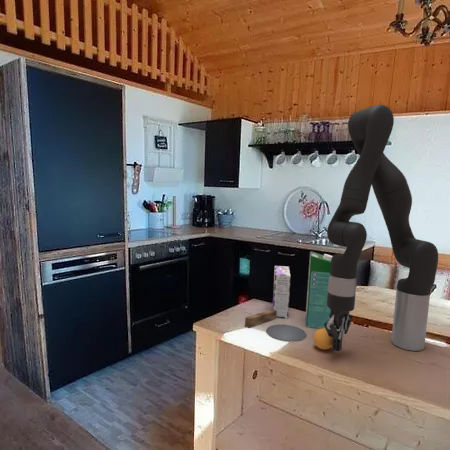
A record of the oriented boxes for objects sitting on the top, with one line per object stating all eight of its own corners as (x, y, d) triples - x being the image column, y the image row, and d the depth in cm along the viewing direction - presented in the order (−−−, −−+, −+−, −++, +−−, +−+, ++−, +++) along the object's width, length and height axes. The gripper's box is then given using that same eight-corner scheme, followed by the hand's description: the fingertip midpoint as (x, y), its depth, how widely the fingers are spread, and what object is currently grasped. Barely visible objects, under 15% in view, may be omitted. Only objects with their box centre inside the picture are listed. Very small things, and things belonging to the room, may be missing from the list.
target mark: (282, 322, 127) (282, 321, 127) (314, 334, 117) (314, 333, 117) (257, 331, 118) (257, 330, 118) (289, 345, 109) (289, 344, 109)
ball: (320, 342, 112) (321, 323, 111) (337, 349, 107) (338, 330, 107) (308, 347, 108) (310, 328, 107) (326, 355, 103) (327, 335, 103)
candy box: (272, 305, 145) (274, 265, 143) (287, 306, 144) (289, 266, 142) (272, 317, 131) (274, 273, 129) (288, 318, 130) (291, 274, 128)
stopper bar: (271, 317, 131) (272, 309, 131) (276, 318, 130) (276, 310, 129) (245, 326, 122) (245, 317, 122) (249, 328, 120) (249, 319, 120)
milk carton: (333, 330, 122) (338, 257, 119) (306, 326, 123) (311, 255, 120) (330, 320, 130) (336, 252, 128) (305, 317, 132) (310, 250, 129)
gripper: (342, 299, 94) (337, 362, 96) (364, 290, 103) (359, 348, 105) (317, 292, 99) (312, 352, 101) (340, 284, 109) (335, 339, 110)
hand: (336, 349), depth 103 cm, fingers closed
